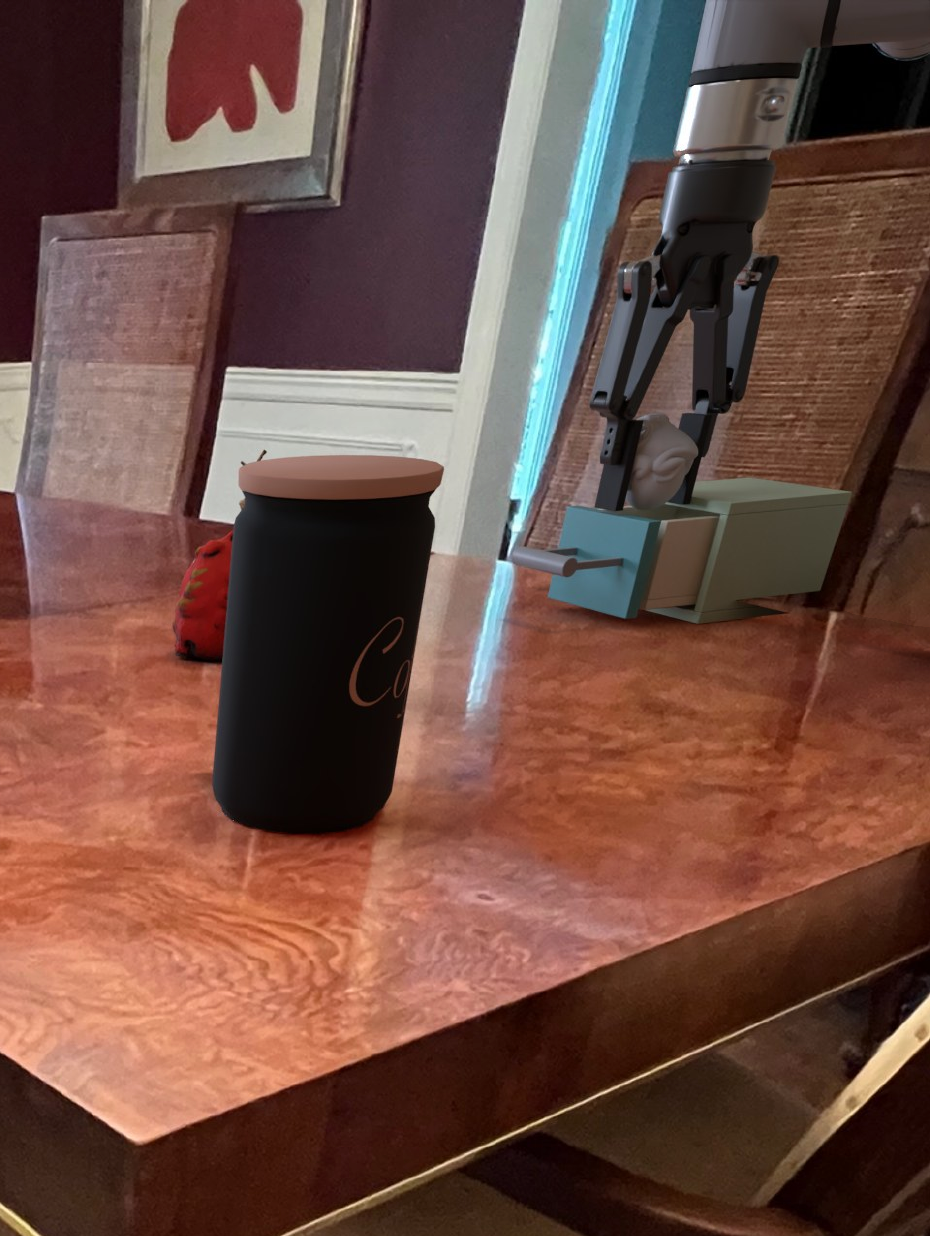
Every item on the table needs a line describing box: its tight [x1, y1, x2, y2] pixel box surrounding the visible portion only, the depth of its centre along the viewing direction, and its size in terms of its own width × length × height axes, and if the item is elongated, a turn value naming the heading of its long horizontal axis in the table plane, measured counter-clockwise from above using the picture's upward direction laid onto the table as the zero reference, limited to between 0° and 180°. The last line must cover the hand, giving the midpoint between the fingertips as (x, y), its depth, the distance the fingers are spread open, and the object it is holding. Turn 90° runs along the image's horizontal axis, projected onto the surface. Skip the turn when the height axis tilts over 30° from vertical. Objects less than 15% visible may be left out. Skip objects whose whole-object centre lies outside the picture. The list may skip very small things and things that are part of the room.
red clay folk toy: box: [172, 449, 268, 662], centre depth 111 cm, size 8×7×15 cm
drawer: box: [511, 504, 721, 620], centre depth 120 cm, size 18×11×7 cm, turn 108°
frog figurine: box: [625, 412, 698, 510], centre depth 116 cm, size 6×7×7 cm
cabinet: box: [639, 477, 853, 625], centre depth 123 cm, size 13×12×9 cm
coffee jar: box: [211, 454, 445, 835], centre depth 77 cm, size 11×11×18 cm
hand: (641, 505), depth 118 cm, fingers closed on frog figurine, 6 cm apart
